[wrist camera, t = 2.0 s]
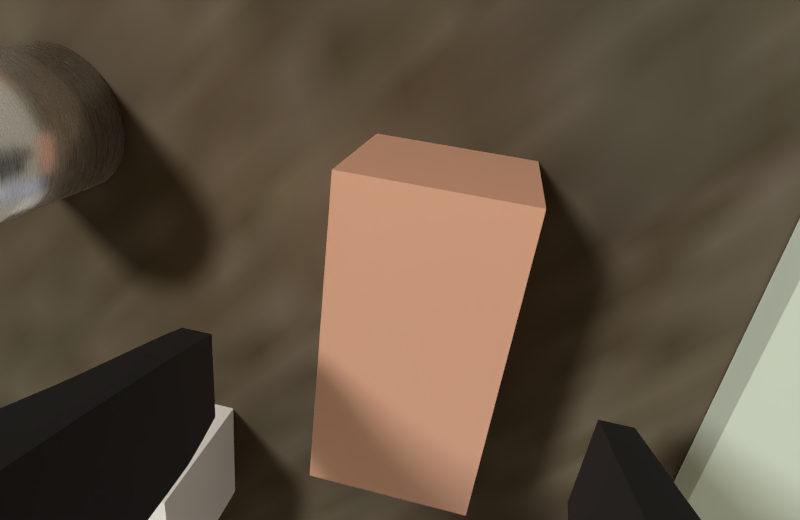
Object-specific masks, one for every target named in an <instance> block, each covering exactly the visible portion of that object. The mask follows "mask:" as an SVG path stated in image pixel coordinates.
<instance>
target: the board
mask: <svg viewBox="0 0 800 520" xmlns="http://www.w3.org/2000/svg"><path fill="white" fill-rule="evenodd" d="M674 483H675V485H676V486H677V487H678V489H679V490H680V492H681V493H682V494H683V496H684V497H685V498H686V500H687V501H688V502H689V504H690V505H691V507H692V508H693V509H694V511H695V512H696V513H697V515H698V516H699V517H700V519H701V520H800V219H799V221H798V223H797V225H796V228H795V230H794V232H793V234H792V236H791V238H790V240H789V242H788V244H787V246H786V248H785V251H784V253H783V255H782V257H781V259H780V261H779V263H778V265H777V267H776V269H775V271H774V274H773V276H772V278H771V280H770V282H769V284H768V286H767V288H766V290H765V292H764V295H763V297H762V299H761V301H760V303H759V305H758V307H757V309H756V311H755V313H754V315H753V318H752V320H751V322H750V324H749V326H748V328H747V330H746V332H745V334H744V336H743V338H742V341H741V343H740V345H739V347H738V349H737V351H736V353H735V355H734V357H733V359H732V361H731V364H730V366H729V368H728V370H727V372H726V374H725V376H724V378H723V380H722V382H721V384H720V387H719V389H718V391H717V393H716V395H715V397H714V399H713V401H712V403H711V405H710V407H709V410H708V412H707V414H706V416H705V418H704V420H703V422H702V424H701V426H700V428H699V430H698V433H697V435H696V437H695V439H694V441H693V443H692V445H691V447H690V449H689V451H688V453H687V456H686V458H685V460H684V462H683V464H682V466H681V468H680V470H679V472H678V474H677V476H676V479H675V481H674Z"/></svg>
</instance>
